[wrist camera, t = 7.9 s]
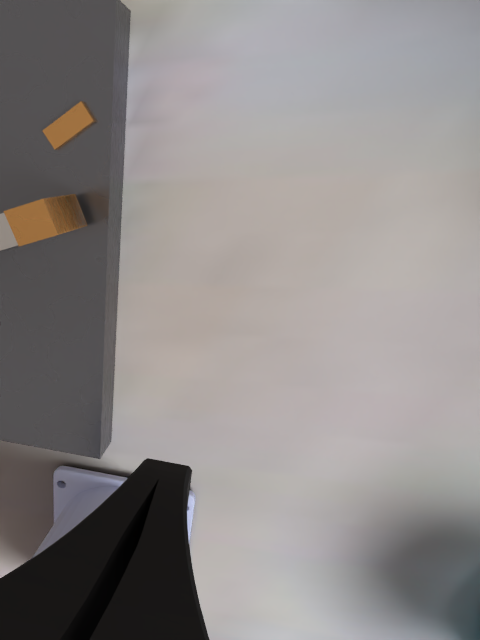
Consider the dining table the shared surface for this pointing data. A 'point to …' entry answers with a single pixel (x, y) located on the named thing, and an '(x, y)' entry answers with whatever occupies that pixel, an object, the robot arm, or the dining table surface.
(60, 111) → the grey flat square slab
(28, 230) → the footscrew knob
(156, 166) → the dining table surface
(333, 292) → the dining table surface
